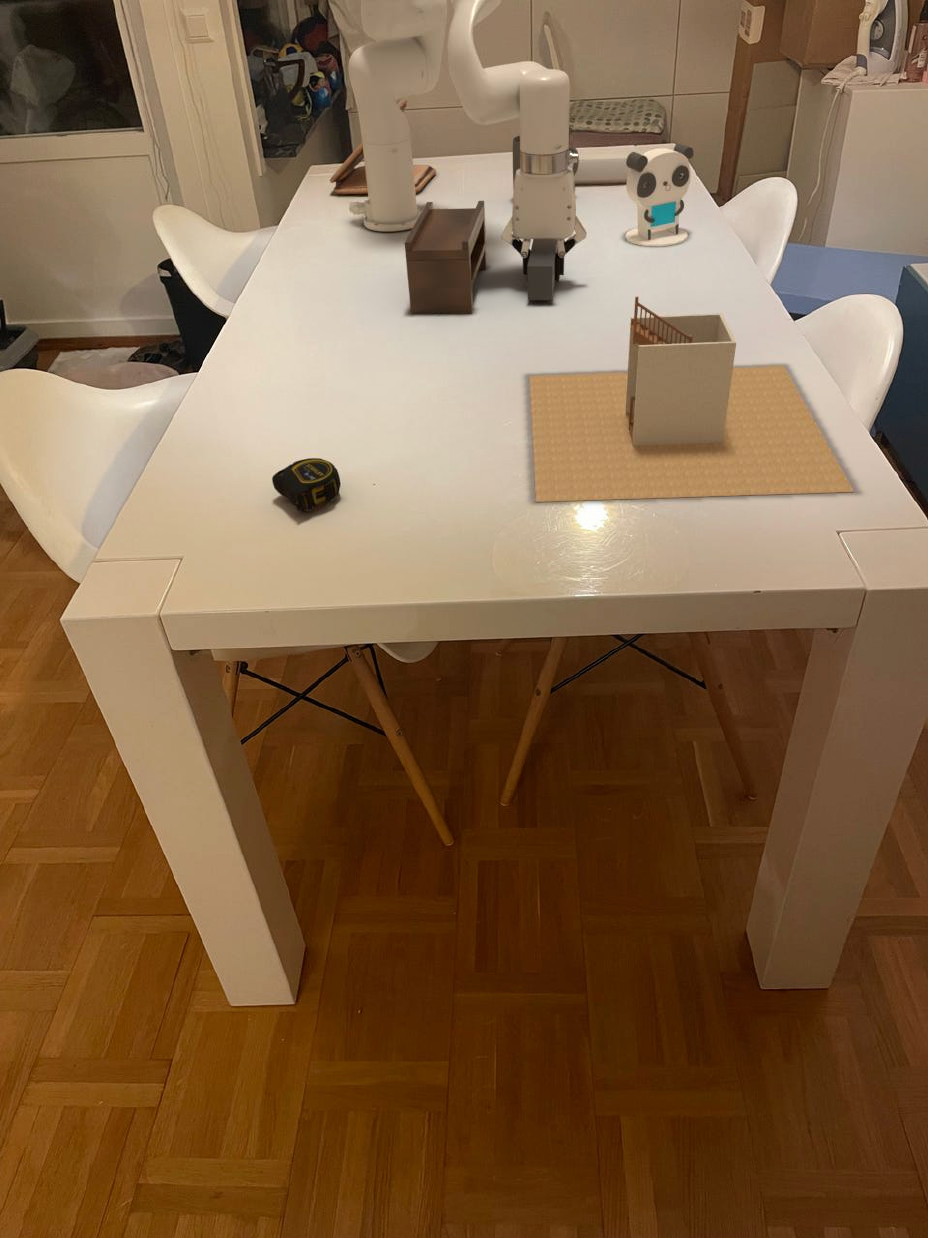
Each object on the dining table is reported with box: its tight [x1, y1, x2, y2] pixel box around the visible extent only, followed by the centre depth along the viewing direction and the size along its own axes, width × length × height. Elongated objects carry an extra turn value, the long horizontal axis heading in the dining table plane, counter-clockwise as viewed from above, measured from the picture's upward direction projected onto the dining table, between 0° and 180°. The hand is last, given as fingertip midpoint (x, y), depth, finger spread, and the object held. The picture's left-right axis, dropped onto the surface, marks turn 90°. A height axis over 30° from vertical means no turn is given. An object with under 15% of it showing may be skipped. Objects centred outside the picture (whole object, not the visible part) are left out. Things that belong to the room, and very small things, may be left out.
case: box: [329, 98, 437, 195], centre depth 207 cm, size 20×21×16 cm
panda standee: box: [625, 143, 694, 248], centre depth 168 cm, size 12×11×15 cm
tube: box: [568, 157, 631, 185], centre depth 201 cm, size 5×5×25 cm
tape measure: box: [271, 457, 342, 513], centre depth 106 cm, size 7×7×4 cm
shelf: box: [403, 200, 488, 315], centre depth 154 cm, size 10×22×11 cm, turn 173°
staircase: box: [624, 296, 737, 446], centre depth 110 cm, size 9×11×17 cm
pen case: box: [526, 239, 557, 301], centre depth 154 cm, size 4×18×6 cm, turn 173°
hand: (543, 277), depth 155 cm, fingers closed on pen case, 4 cm apart
